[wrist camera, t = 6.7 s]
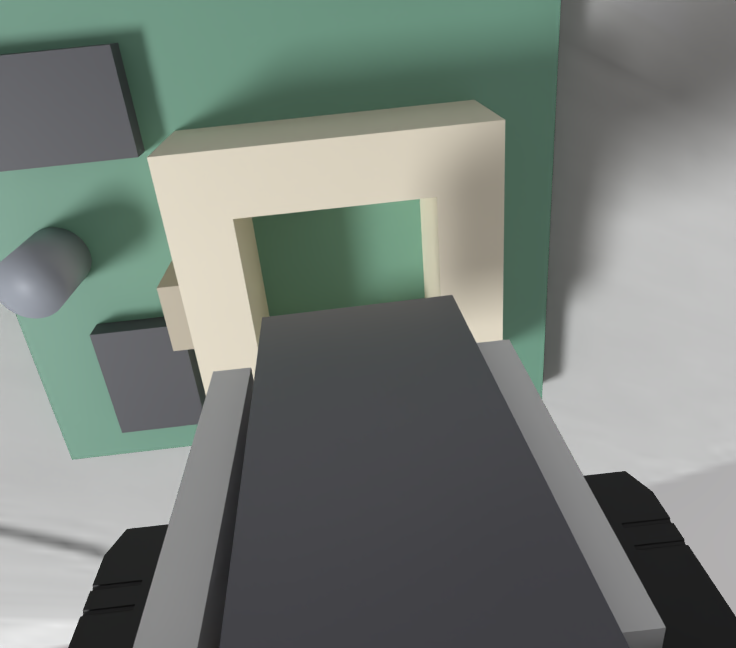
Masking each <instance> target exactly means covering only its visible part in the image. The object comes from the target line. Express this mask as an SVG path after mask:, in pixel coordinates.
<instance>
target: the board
mask: <svg viewBox="0 0 736 648" xmlns="http://www.w3.org/2000/svg"><path fill="white" fill-rule="evenodd" d="M560 7H561V0H0V302H1V303H2V304H3V305H4V306H5V307H6V308H8V309H9V310H10V311H12V312H14V313H15V314H16V316H17V319H18V321H19V324H20V326H21V329H22V332H23V334H24V337H25V339H26V342H27V345H28V347H29V350H30V352H31V355H32V357H33V360H34V363H35V365H36V368H37V370H38V373H39V375H40V378H41V381H42V383H43V386H44V388H45V391H46V394H47V396H48V399H49V401H50V404H51V406H52V409H53V412H54V414H55V417H56V419H57V422H58V424H59V427H60V430H61V432H62V435H63V437H64V440H65V443H66V445H67V448H68V450H69V453H70V455H71V458H72V460H73V459H82V458H90V457H99V456H107V455H116V454H125V453H133V452H142V451H150V450H159V449H168V448H176V447H185V446H192V443H193V439H194V436H195V432H196V429H197V426H198V422H199V419H200V415H201V412H202V408H203V405H204V402H205V398H206V395H207V391H208V388H209V384H210V381H211V377H212V374H213V371H223V370H232V369H241V368H250V367H251V369H252V374H253V379H254V376H255V368H256V361H257V353H258V345H259V338H260V330H261V322H262V317H270V316H278V315H287V314H295V313H303V312H312V311H320V310H329V309H337V308H345V307H354V306H362V305H371V304H379V303H387V302H396V301H404V300H413V299H421V298H429V297H438V296H446V295H453V297H454V299H455V301H456V303H457V305H458V307H459V309H460V311H461V313H462V315H463V317H464V319H465V321H466V323H467V325H468V327H469V329H470V331H471V333H472V335H473V337H474V339H475V341H476V343H480V342H490V341H499V340H508V339H509V340H510V342H511V344H512V346H513V347H514V349H515V351H516V353H517V355H518V357H519V358H520V360H521V362H522V364H523V366H524V368H525V369H526V371H527V373H528V375H529V377H530V379H531V380H532V382H533V384H534V386H535V388H536V390H537V392H538V393H539V395H540V397H541V399H542V385H543V364H544V343H545V322H546V301H547V280H548V259H549V238H550V217H551V196H552V175H553V154H554V133H555V112H556V91H557V70H558V49H559V28H560Z"/></svg>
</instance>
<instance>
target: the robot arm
mask: <svg viewBox="0 0 736 648" xmlns="http://www.w3.org/2000/svg"><path fill="white" fill-rule="evenodd" d="M477 345H478V347H479V349H480V351H481V353H482V355H483V357H484V359H485V361H486V363H487V365H488V367H489V369H490V371H491V373H492V375H493V377H494V379H495V381H496V383H497V385H498V387H499V389H500V391H501V393H502V395H503V397H504V399H505V401H506V403H507V405H508V407H509V409H510V411H511V413H512V415H513V417H514V418H515V420H516V422H517V424H518V426H519V428H520V430H521V432H522V434H523V436H524V438H525V440H526V442H527V444H528V446H529V448H530V450H531V452H532V454H533V456H534V458H535V460H536V462H537V464H538V466H539V468H540V470H541V472H542V474H543V476H544V478H545V480H546V482H547V484H548V486H549V488H550V490H551V492H552V494H553V496H554V498H555V500H556V502H557V504H558V506H559V508H560V510H561V512H562V514H563V516H564V518H565V520H566V522H567V524H568V526H569V528H570V530H571V532H572V534H573V536H574V538H575V540H576V542H577V544H578V546H579V548H580V550H581V552H582V554H583V556H584V558H585V560H586V562H587V564H588V566H589V568H590V570H591V572H592V574H593V576H594V578H595V580H596V582H597V584H598V586H599V588H600V590H601V592H602V593H603V595H604V597H605V599H606V601H607V603H608V605H609V607H610V609H611V611H612V613H613V615H614V617H615V619H616V621H617V623H618V625H619V627H620V629H621V631H622V633H623V635H624V637H625V639H626V641H627V643H628V645H629V647H630V648H736V617H735V615H734V613H733V612H732V610H731V609H730V607H729V606H728V604H727V603H726V601H725V600H724V598H723V597H722V595H721V594H720V592H719V591H718V589H717V588H716V586H715V585H714V583H713V582H712V580H711V579H710V577H709V576H708V574H707V573H706V571H705V570H704V568H703V567H702V565H701V564H700V562H699V561H698V559H697V558H696V556H695V555H694V554H693V552H692V550H691V549H690V547H689V546H688V545H685V542H684V538H683V537H682V535H681V534H680V532H679V531H678V529H677V528H676V526H675V525H674V523H671V522H670V517H669V516H668V514H667V513H666V511H665V510H664V508H663V507H662V505H661V504H660V502H659V501H658V499H657V498H656V496H655V495H654V493H653V492H652V491H651V490H650V489H648V488H647V487H646V486H644V485H643V484H642V483H640V482H639V481H638V480H636V479H635V478H634V477H632V476H631V475H630V474H628V473H627V472H626V471H622V472H613V473H605V474H596V475H587V476H583V474H582V472H581V471H580V469H579V467H578V465H577V463H576V461H575V460H574V458H573V456H572V454H571V452H570V450H569V449H568V447H567V445H566V443H565V441H564V439H563V437H562V436H561V434H560V432H559V430H558V428H557V426H556V425H555V423H554V421H553V419H552V417H551V415H550V414H549V412H548V410H547V408H546V406H545V404H544V403H543V401H542V399H541V397H540V395H539V393H538V392H537V390H536V388H535V386H534V384H533V382H532V380H531V379H530V377H529V375H528V373H527V371H526V369H525V368H524V366H523V364H522V362H521V360H520V358H519V357H518V355H517V353H516V351H515V349H514V347H513V346H512V344H511V342H510V340H509V339H508V340H499V341H490V342H480V343H477ZM253 384H254V379H253V374H252V369H251V367H250V368H241V369H232V370H223V371H213V374H212V377H211V381H210V384H209V388H208V391H207V395H206V398H205V402H204V405H203V408H202V412H201V415H200V419H199V422H198V426H197V429H196V432H195V436H194V439H193V443H192V446H191V450H190V453H189V456H188V460H187V463H186V467H185V470H184V474H183V477H182V481H181V484H180V487H179V491H178V494H177V498H176V501H175V505H174V508H173V511H172V515H171V518H170V522H169V524H168V525H159V526H150V527H141V528H132V529H127V530H126V531H125V532H124V533H123V534H122V536H121V537H120V538H119V539H118V540H117V541H116V543H115V544H114V545H113V546H112V547H111V548H110V550H109V551H108V552H107V553H106V554H105V555H104V558H103V560H102V563H101V565H100V568H99V570H98V573H97V576H96V578H95V581H94V583H93V591H90V593H89V596H88V599H87V601H86V604H85V606H84V609H83V616H82V617H80V619H79V622H78V624H77V627H76V629H75V632H74V634H73V637H72V640H71V642H70V645H69V647H68V648H219V646H220V639H221V631H222V623H223V615H224V608H225V600H226V592H227V585H228V577H229V569H230V561H231V554H232V546H233V538H234V531H235V523H236V515H237V507H238V500H239V492H240V484H241V476H242V469H243V461H244V453H245V446H246V438H247V430H248V422H249V415H250V407H251V399H252V392H253Z"/></svg>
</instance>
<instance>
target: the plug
mask: <svg viewBox="0 0 736 648" xmlns="http://www.w3.org/2000/svg"><path fill="white" fill-rule="evenodd" d="M219 648H630V647H629V645H628V643H627V641H626V639H625V637H624V635H623V633H622V631H621V629H620V627H619V625H618V623H617V621H616V619H615V617H614V615H613V613H612V611H611V609H610V607H609V605H608V603H607V601H606V599H605V597H604V595H603V593H602V592H601V590H600V588H599V586H598V584H597V582H596V580H595V578H594V576H593V574H592V572H591V570H590V568H589V566H588V564H587V562H586V560H585V558H584V556H583V554H582V552H581V550H580V548H579V546H578V544H577V542H576V540H575V538H574V536H573V534H572V532H571V530H570V528H569V526H568V524H567V522H566V520H565V518H564V516H563V514H562V512H561V510H560V508H559V506H558V504H557V502H556V500H555V498H554V496H553V494H552V492H551V490H550V488H549V486H548V484H547V482H546V480H545V478H544V476H543V474H542V472H541V470H540V468H539V466H538V464H537V462H536V460H535V458H534V456H533V454H532V452H531V450H530V448H529V446H528V444H527V442H526V440H525V438H524V436H523V434H522V432H521V430H520V428H519V426H518V424H517V422H516V420H515V418H514V417H513V415H512V413H511V411H510V409H509V407H508V405H507V403H506V401H505V399H504V397H503V395H502V393H501V391H500V389H499V387H498V385H497V383H496V381H495V379H494V377H493V375H492V373H491V371H490V369H489V367H488V365H487V363H486V361H485V359H484V357H483V355H482V353H481V351H480V349H479V347H478V345H477V343H476V341H475V339H474V337H473V335H472V333H471V331H470V329H469V327H468V325H467V323H466V321H465V319H464V317H463V315H462V313H461V311H460V309H459V307H458V305H457V303H456V301H455V299H454V297H453V295H446V296H438V297H429V298H421V299H413V300H404V301H396V302H387V303H379V304H371V305H362V306H354V307H345V308H337V309H329V310H320V311H312V312H303V313H295V314H287V315H278V316H270V317H262V322H261V330H260V338H259V345H258V353H257V361H256V368H255V376H254V384H253V392H252V399H251V407H250V415H249V422H248V430H247V438H246V446H245V453H244V461H243V469H242V476H241V484H240V492H239V500H238V507H237V515H236V523H235V531H234V538H233V546H232V554H231V561H230V569H229V577H228V585H227V592H226V600H225V608H224V615H223V623H222V631H221V639H220V646H219Z"/></svg>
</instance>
